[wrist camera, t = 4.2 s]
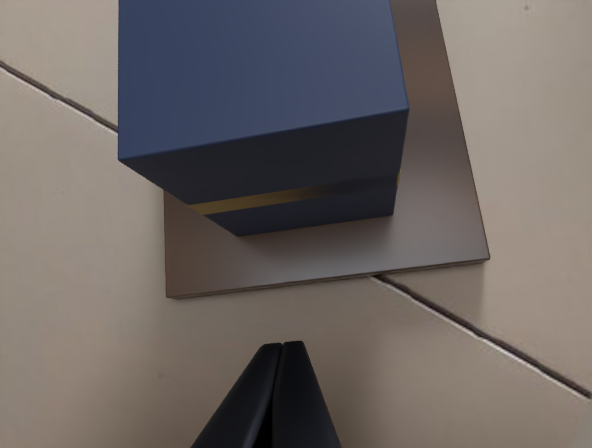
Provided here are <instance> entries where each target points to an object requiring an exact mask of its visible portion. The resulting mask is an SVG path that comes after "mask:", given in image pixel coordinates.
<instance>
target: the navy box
mask: <svg viewBox="0 0 592 448" xmlns="http://www.w3.org/2000/svg"><path fill="white" fill-rule="evenodd" d="M409 110H410V107H409V101H408V96H407V90H406V85H405V79H404V74H403V68H402V63H401V57H400V52H399V46H398V41H397V35H396V30H395V24H394V19H393V13H392V8H391V2H390V0H119V29H118V160H119V161H120V162H121V163H123V164H124V165H126V166H127V167H129V168H131V169H132V170H134V171H135V172H137V173H138V174H140V175H142V176H143V177H145V178H146V179H148V180H149V181H151V182H152V183H154V184H156V185H157V186H159V187H160V188H162V189H163V190H165V191H166V192H168V193H170V194H171V195H173V196H174V197H176V198H177V199H179V200H180V201H182V202H184V203H185V204H186V205H187V206H189V207H190V208H192V209H193V210H195V211H197V212H198V213H200V214H201V215H204V216H205V217H207V218H208V219H210V220H212V221H213V222H215V223H216V224H218V225H219V226H221V227H223V228H224V229H226V230H227V231H229V232H230V233H232V234H233V235H235V236H237V237H238V236H246V235H253V234H260V233H267V232H274V231H282V230H289V229H296V228H303V227H310V226H318V225H325V224H332V223H339V222H346V221H354V220H361V219H368V218H375V217H382V216H390V215H393V214H394V208H395V201H396V195H397V188H398V185H399V180H400V174H401V162H402V156H403V149H404V143H405V136H406V130H407V123H408V117H409Z"/></svg>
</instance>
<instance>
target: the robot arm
mask: <svg viewBox="0 0 592 448" xmlns="http://www.w3.org/2000/svg"><path fill="white" fill-rule="evenodd" d="M191 448H341V445H340V442H339V439H338V436H337V434H336V431H335V428H334V425H333V423H332V420H331V417H330V414H329V411H328V409H327V406H326V403H325V400H324V398H323V395H322V392H321V389H320V386H319V384H318V381H317V378H316V375H315V373H314V370H313V367H312V364H311V362H310V359H309V356H308V353H307V350H306V348H305V345H304V343H303V341H290V342H285V343H284V344H282V343H270V344H264V345H262V346H261V347H260V348H259V350H258V351H257V353H256V354H255V355H254V357H253V358H252V360H251V361H250V363H249V364H248V365H247V367H246V368H245V370H244V371H243V373H242V374H241V376H240V377H239V378H238V380H237V381H236V383H235V384H234V386H233V387H232V389H231V390H230V391H229V393H228V394H227V396H226V397H225V399H224V400H223V401H222V403H221V404H220V406H219V407H218V409H217V410H216V412H215V413H214V414H213V416H212V417H211V419H210V420H209V422H208V423H207V425H206V426H205V427H204V429H203V430H202V432H201V433H200V435H199V436H198V437H197V439H196V440H195V442H194V443H193V445H192V446H191Z"/></svg>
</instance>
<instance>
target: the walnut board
mask: <svg viewBox="0 0 592 448" xmlns="http://www.w3.org/2000/svg"><path fill="white" fill-rule="evenodd" d="M390 2H391V8H392V13H393V19H394V24H395V30H396V35H397V41H398V46H399V52H400V57H401V63H402V68H403V74H404V79H405V85H406V90H407V96H408V101H409V107H410V110H409V117H408V123H407V130H406V136H405V143H404V149H403V156H402V162H401V174H400V180H399V185H398V188H397V195H396V201H395V208H394V214H393V215H390V216H382V217H375V218H368V219H361V220H354V221H346V222H339V223H332V224H325V225H318V226H310V227H303V228H296V229H289V230H282V231H274V232H267V233H260V234H253V235H246V236H238V237H237V236H235V235H233V234H232V233H230V232H229V231H227V230H226V229H224V228H223V227H221V226H219V225H218V224H216V223H215V222H213V221H212V220H210V219H208V218H207V217H205V216H204V215H201V214H200V213H198V212H197V211H195V210H193V209H192V208H190V207H189V206H187V205H186V204H185V203H184V202H182V201H180V200H179V199H177V198H176V197H174V196H173V195H171V194H170V193H168V192H166V191H165V190H164V228H165V274H166V298H171V299H181V298H189V297H198V296H206V295H214V294H223V293H231V292H240V291H248V290H257V289H265V288H273V287H282V286H290V285H299V284H307V283H316V282H324V281H332V280H341V279H349V278H358V277H366V276H375V275H383V274H391V273H400V272H408V271H417V270H425V269H433V268H442V267H450V266H459V265H467V264H476V263H484V262H486V261H488V260H489V259H490V253H489V249H488V244H487V239H486V235H485V230H484V225H483V221H482V216H481V211H480V206H479V202H478V197H477V192H476V188H475V183H474V178H473V174H472V169H471V164H470V160H469V155H468V150H467V146H466V141H465V136H464V131H463V127H462V122H461V117H460V113H459V108H458V103H457V99H456V94H455V89H454V85H453V80H452V75H451V70H450V66H449V61H448V56H447V52H446V47H445V42H444V38H443V33H442V28H441V24H440V19H439V14H438V10H437V5H436V0H390Z"/></svg>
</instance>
